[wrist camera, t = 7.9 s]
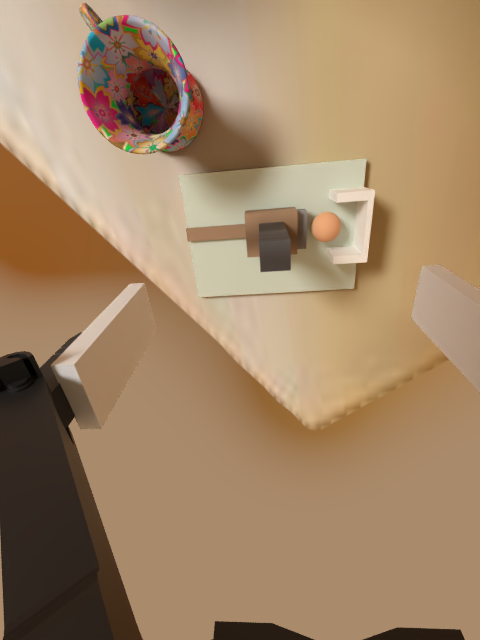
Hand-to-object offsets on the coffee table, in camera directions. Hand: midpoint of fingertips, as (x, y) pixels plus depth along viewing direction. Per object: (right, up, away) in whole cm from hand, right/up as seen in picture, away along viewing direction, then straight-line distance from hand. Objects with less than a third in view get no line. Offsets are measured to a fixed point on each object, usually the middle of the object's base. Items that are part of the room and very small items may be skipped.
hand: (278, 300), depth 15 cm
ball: (+9, +10, +22) cm, 26 cm away
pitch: (+2, +10, +25) cm, 28 cm away
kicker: (+3, +10, +23) cm, 26 cm away
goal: (+11, +12, +24) cm, 29 cm away
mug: (-11, +24, +19) cm, 33 cm away
